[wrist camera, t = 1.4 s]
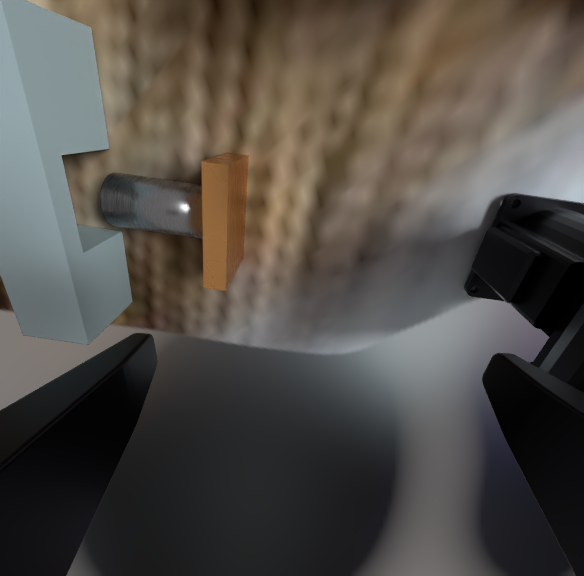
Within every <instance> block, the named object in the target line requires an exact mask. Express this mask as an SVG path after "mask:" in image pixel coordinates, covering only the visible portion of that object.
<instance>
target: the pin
mask: <svg viewBox="0 0 584 576" xmlns="http://www.w3.org/2000/svg"><path fill="white" fill-rule="evenodd" d="M201 165H202V185H199V184H192V183H185V182H178V181H171V180H164V179H157V178H150V177H144V176H137V175H130V174H123V173H111V174H109V175H108V176H107V177H106V179H105V180H104V182H103V185H102V188H101V194H100V203H101V209H102V212H103V215H104V217H105V219H106V220H107V221H108V223H110V224H111V225H113V226H117V227H124V228H131V229H138V230H145V231H152V232H159V233H166V234H173V235H180V236H187V237H194V238H201V239H203V278H204V288H209V289H216V290H223V291H226V289H227V287H228V286H229V284H230V282H231V280H232V278H233V276H234V275H235V273H236V271H237V269H238V267H239V265H240V264H241V262H242V260H243V254H244V235H245V215H246V195H247V176H248V155H241V154H234V153H225V154H222V155H219V156H216V157H213V158H210V159H207V160H204V161H201Z"/></svg>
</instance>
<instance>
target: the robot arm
mask: <svg viewBox="0 0 584 576" xmlns="http://www.w3.org/2000/svg"><path fill="white" fill-rule="evenodd" d="M516 199H517V203H516V204H515V205H514V206H513V207H511V203H512V202H513V201H514V200H516ZM474 286H476V288H475V289H474V290H471V289H472V287H474ZM464 290H465V292H466V293H467V294H468V295H469V296H472V297H479V298H486V299H493V300H501V301H505V302H507V303H510V304H511V305H512V306H513V307H514V308H515V309H516V310H517V311H518V312H519V313H520V314H521V315H522V316H523V317H524V318H525V319H527V320H528V321H529V322H530V323H531V324H532V325H533V326H534V327H535V328H539V329H541V330H542V331H543V332H544V333H545V334H546V335H548V336H549V337H550V338H549V339H548V341H547V342H546V344H545V345H544V347H543V348H542V350H541V351H540V352H539V354H538V356H537V357H536V358H535V360H534V362H530V363H529V362H526V361H525V360H523V359H521V358H519V357H518V356H516V355H514V354H509V353H507V354H506V353H497V354H495V355H493V356H492V358H491V360H490V362H489V364H488V366H487V368H486V370H485V372H484V374H483V377H482V381H483V385H484V388H485V390H486V393H487V395H488V398H489V400H490V403H491V405H492V408H493V410H494V413H495V415H496V418H497V420H498V423H499V425H500V428H501V430H502V432H503V435H504V437H505V439H506V441H507V443H508V445H509V447H510V449H511V451H512V453H513V455H514V457H515V459H516V461H517V463H518V465H519V467H520V469H521V471H522V472H523V475H524V477H525V478H526V480H527V482H528V484H529V486H530V488H531V490H532V492H533V494H534V496H535V498H536V500H537V502H538V503H539V505H540V508H541V509H542V511H543V513H544V515H545V517H546V519H547V521H548V523H549V525H550V527H551V529H552V531H553V533H554V534H555V537H556V538H557V540H558V542H559V544H560V546H561V548H562V550H563V552H564V554H565V556H566V558H567V560H568V561H569V564H570V566H571V568H572V569H573V571H574V573H575V575H576V576H584V203H580V202H573V201H566V200H559V199H552V198H545V197H538V196H531V195H524V194H517V193H514V194H510V195H508V196H507V197H506V198H505V199H504V201H503V203H502V205H501V207H500V209H499V211H498V214H497V216H496V218H495V220H494V222H493V225H492V227H491V228H490V229H489V230H488V231H487V233H486V235H485V238H484V240H483V242H482V244H481V247H480V249H479V251H478V253H477V255H476V258H475V260H474V262H473V264H472V271H471V273H470V275H469V277H468V280H467V282H466V284H465V287H464ZM156 366H157V355H156V349H155V344H154V339H153V336H152V335H151V334H145V333H135V334H132V335H130V336H129V337H127V338H125V339H123V340H122V341H120V342H118V343H117V344H115V345H113V346H111V347H110V348H108V349H106V350H105V351H103V352H101V353H99V354H97V355H96V356H94V357H92V358H91V359H89V360H87V361H85V362H84V363H82V364H80V365H79V366H77V367H75V368H74V369H72V370H70V371H68V372H66V373H65V374H63V375H61V376H60V377H58V378H56V379H54V380H53V381H51V382H49V383H47V384H45V385H44V386H42V387H40V388H39V389H37V390H35V391H33V392H32V393H30V394H28V395H26V396H25V397H23V398H21V399H19V400H18V401H16V402H14V403H12V404H11V405H9V406H8V407H6V408H4V409H2V410H0V576H66V575H67V573H68V571H69V569H70V567H71V564H72V562H73V560H74V558H75V556H76V554H77V551H78V549H79V547H80V545H81V543H82V541H83V539H84V537H85V534H86V532H87V530H88V528H89V526H90V524H91V522H92V519H93V517H94V515H95V513H96V510H97V509H98V507H99V504H100V502H101V500H102V498H103V496H104V494H105V491H106V489H107V487H108V485H109V483H110V481H111V479H112V477H113V474H114V472H115V470H116V468H117V466H118V463H119V462H120V459H121V457H122V455H123V453H124V451H125V448H126V446H127V444H128V442H129V440H130V438H131V436H132V434H133V431H134V429H135V427H136V425H137V422H138V419H139V417H140V414H141V411H142V408H143V405H144V402H145V399H146V396H147V393H148V390H149V388H150V384H151V382H152V379H153V376H154V373H155V370H156Z"/></svg>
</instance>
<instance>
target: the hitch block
mask: <svg viewBox="0 0 584 576" xmlns="http://www.w3.org/2000/svg"><path fill="white" fill-rule="evenodd" d="M104 149H109V143H108V136H107V129H106V123H105V116H104V110H103V103H102V96H101V90H100V83H99V76H98V70H97V63H96V57H95V50H94V43H93V37H92V30H91V27H88V26H86V25H84V24H81V23H79V22H76V21H74V20H71V19H69V18H67V17H64V16H62V15H59V14H57V13H55V12H52V11H50V10H47V9H45V8H42V7H40V6H38V5H35V4H33V3H30V2H28V1H26V0H0V275H1V278H2V281H3V283H4V286H5V289H6V291H7V294H8V297H9V299H10V302H11V304H12V307H13V310H14V312H15V315H16V318H17V320H18V323H19V326H20V328H21V331H22V333H23V335H25V336H32V337H38V338H45V339H52V340H59V341H66V342H72V343H79V344H86V345H89V344H90V343H91V342H92V341H93V340H94V339H95V338H96V337H97V336H98V335H99V334H100V333H101V332H102V331H103V330H104V329H105V328H106V327H107V326H108V325H110V324H111V323H112V322H113V321H114V320H115V319H116V318H117V317H118V316H119V315H120V314H121V313H122V312H123V311H124V310H125V309H126V308H127V307H128V306H129V305H130V304H131V303H132V302H133V301H132V294H131V288H130V281H129V275H128V268H127V261H126V255H125V248H124V242H123V235H122V231H116V230H109V229H102V228H95V227H88V226H81V225H77V223H76V219H75V214H74V210H73V205H72V201H71V196H70V192H69V187H68V183H67V178H66V174H65V169H64V165H63V160H62V156H61V155H67V154H74V153H82V152H89V151H97V150H104Z"/></svg>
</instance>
